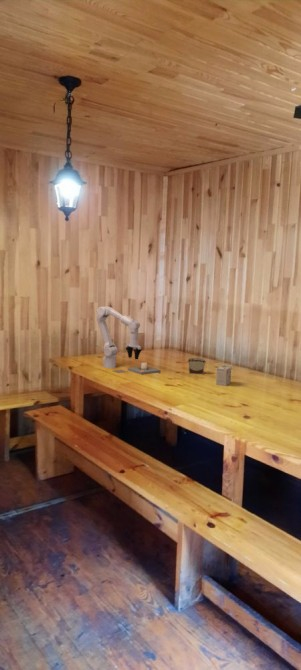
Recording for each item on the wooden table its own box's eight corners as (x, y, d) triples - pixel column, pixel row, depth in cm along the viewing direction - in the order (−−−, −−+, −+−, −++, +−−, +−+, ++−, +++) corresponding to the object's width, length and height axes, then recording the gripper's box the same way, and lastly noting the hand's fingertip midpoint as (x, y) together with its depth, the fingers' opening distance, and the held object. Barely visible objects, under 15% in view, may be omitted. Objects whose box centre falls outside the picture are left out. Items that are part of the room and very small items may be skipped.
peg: (139, 372, 335) (140, 362, 334) (144, 371, 337) (144, 361, 336) (143, 373, 331) (143, 363, 331) (147, 372, 334) (148, 362, 333)
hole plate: (127, 371, 336) (127, 367, 335) (146, 369, 345) (146, 365, 345) (141, 376, 323) (141, 372, 323) (160, 373, 333) (160, 369, 333)
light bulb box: (220, 381, 316) (221, 365, 314) (231, 382, 313) (232, 366, 311) (215, 384, 306) (216, 367, 305) (226, 386, 303) (226, 369, 302)
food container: (205, 372, 342) (205, 358, 341) (205, 374, 336) (205, 360, 335) (187, 371, 343) (188, 357, 342) (187, 373, 337) (187, 359, 336)
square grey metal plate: (111, 372, 331) (111, 370, 331) (121, 371, 336) (121, 369, 336) (118, 374, 325) (118, 373, 325) (128, 373, 330) (128, 371, 330)
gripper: (123, 337, 336) (122, 357, 338) (135, 340, 325) (134, 360, 327) (131, 337, 341) (130, 356, 342) (143, 339, 329) (143, 359, 331)
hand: (133, 358), depth 335 cm, fingers open, 7 cm apart
